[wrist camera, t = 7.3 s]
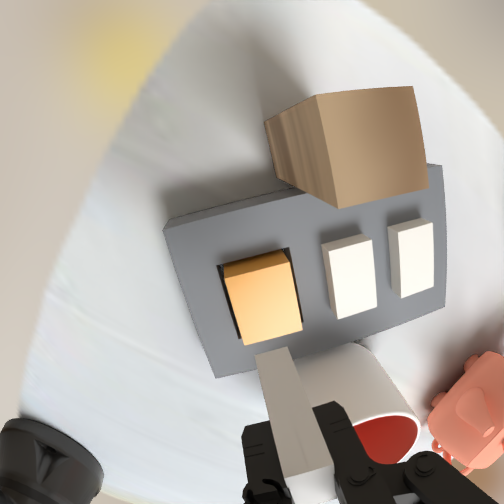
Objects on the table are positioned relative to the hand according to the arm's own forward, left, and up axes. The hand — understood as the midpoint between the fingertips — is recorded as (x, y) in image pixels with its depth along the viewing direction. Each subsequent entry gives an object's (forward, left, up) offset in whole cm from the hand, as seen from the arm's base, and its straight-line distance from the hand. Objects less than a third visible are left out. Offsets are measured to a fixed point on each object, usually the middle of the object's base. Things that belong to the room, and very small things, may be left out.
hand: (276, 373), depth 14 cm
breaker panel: (+5, 0, -11) cm, 12 cm away
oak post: (+5, +9, -11) cm, 15 cm away
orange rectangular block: (0, 0, -10) cm, 10 cm away
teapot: (+23, -23, -11) cm, 35 cm away
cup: (+4, -12, -11) cm, 17 cm away
